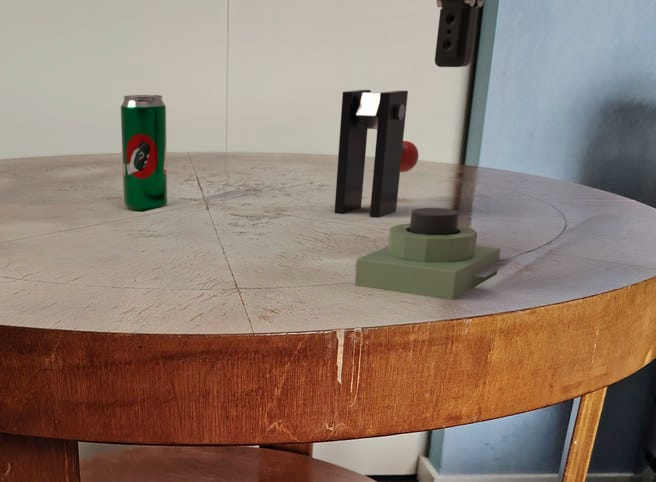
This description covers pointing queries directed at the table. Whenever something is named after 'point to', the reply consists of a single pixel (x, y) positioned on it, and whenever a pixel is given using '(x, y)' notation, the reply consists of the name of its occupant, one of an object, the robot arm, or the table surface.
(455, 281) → the control block
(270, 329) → the table surface
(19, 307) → the table surface
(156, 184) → the soda can
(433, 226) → the button
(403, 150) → the lever
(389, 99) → the bracket
